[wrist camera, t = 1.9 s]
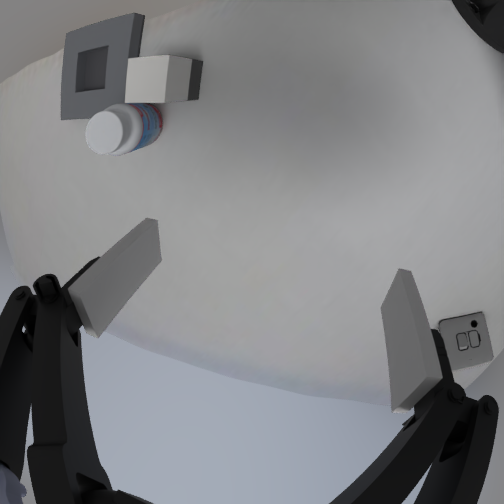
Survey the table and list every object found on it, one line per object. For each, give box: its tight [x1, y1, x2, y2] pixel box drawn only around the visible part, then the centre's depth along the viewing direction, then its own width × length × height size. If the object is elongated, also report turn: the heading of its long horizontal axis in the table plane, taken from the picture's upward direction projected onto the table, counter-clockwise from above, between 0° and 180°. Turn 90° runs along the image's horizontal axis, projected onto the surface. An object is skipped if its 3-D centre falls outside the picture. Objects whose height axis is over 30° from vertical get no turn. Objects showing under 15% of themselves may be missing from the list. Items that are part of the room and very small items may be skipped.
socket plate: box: [61, 13, 145, 120], centre depth 28 cm, size 15×14×2 cm
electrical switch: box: [439, 313, 494, 373], centre depth 33 cm, size 9×5×9 cm, turn 107°
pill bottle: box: [85, 103, 163, 156], centre depth 27 cm, size 6×6×11 cm
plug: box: [125, 55, 203, 103], centre depth 25 cm, size 5×5×8 cm
